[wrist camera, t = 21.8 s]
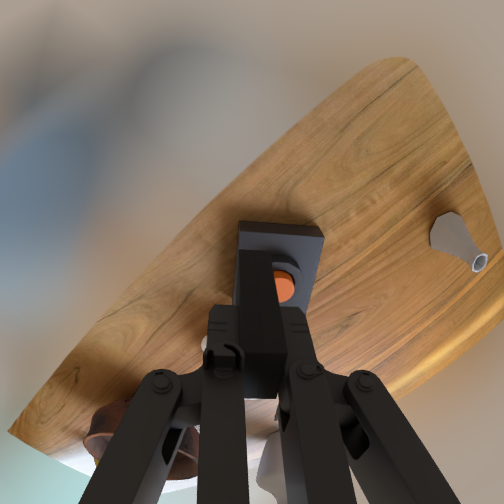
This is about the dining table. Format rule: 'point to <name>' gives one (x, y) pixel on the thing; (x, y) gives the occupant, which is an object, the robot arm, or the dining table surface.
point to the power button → (283, 285)
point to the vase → (272, 469)
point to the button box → (285, 254)
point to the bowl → (108, 422)
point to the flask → (456, 240)
